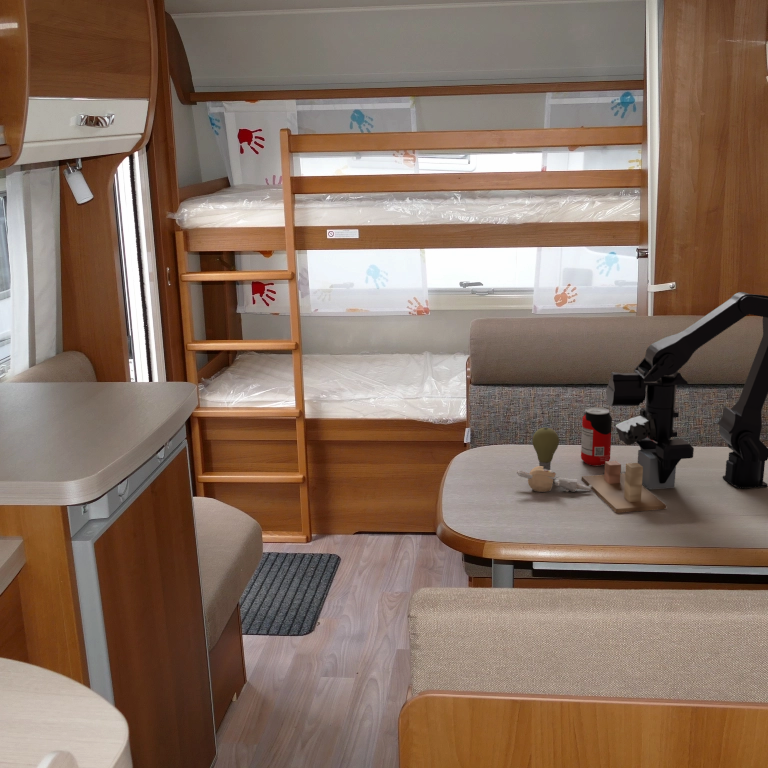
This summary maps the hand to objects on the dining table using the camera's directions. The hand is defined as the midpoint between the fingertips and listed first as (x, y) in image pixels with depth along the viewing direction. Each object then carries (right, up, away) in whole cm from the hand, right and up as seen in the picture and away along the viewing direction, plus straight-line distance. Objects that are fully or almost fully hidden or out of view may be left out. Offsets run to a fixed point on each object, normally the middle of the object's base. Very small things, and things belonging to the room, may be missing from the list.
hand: (655, 478), depth 174 cm
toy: (-22, -3, -2) cm, 22 cm away
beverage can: (-9, +2, +14) cm, 17 cm away
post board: (-8, -3, -5) cm, 10 cm away
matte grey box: (0, -1, 0) cm, 1 cm away
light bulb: (-21, 0, +8) cm, 23 cm away
